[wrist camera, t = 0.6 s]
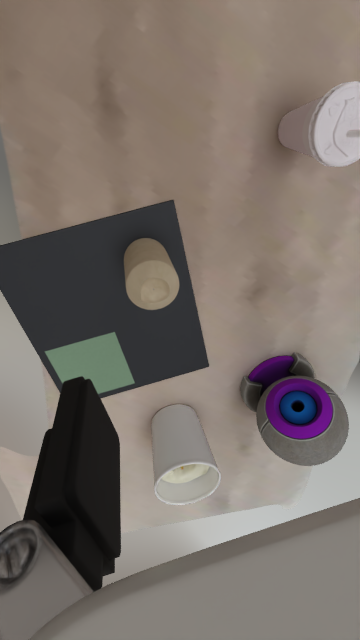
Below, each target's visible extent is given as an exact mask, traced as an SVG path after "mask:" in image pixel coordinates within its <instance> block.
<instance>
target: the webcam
mask: <svg viewBox="0 0 360 640" xmlns="http://www.w3.org/2000/svg"><path fill="white" fill-rule="evenodd" d="M314 378H315V375H314V371H313V368H312V366H311V365H310V363H309V362H308V361H307V360H306V359H305V358H304V357H303V356H301V355H300V354H297V353H293V355H292V356H278V357H274V358H271V359H269V360H266V361H265V362H263V363H261V364H260V365H259V366H257V367H256V368H255V369H254V370H253V371H252V372H251V374H250V375H249V377H244V378H243V380H242V383H241V388H240V391H241V396H242V398H243V400H244V402H245V404H246V405H247V406H248V407H249V408H250V409H251V410H252V411H254V412H256V413H257V414H256V417H257V425H258V429H259V432H260V434H261V436H262V438H263V440H264V442H265V443H266V445H267V446H268V447H269V448H270V449H271V450H272V451H273V452H274V453H275V454H276V455H277V456H279V457H280V458H282V459H284V460H286V461H288V462H290V463H293V464H297V465H303V466H312V465H318V464H322V463H324V462H327V461H328V460H330V459H332V458H333V457H334V456H335V455H337V454H338V453H339V451H340V450H341V449H342V447H343V445H344V444H345V442H346V439H347V436H348V429H349V428H348V427H349V422H348V416H347V412H346V409H345V407H344V405H343V403H342V401H341V399H340V398H339V397H338V395H337V394H336V393H335V392H334V391H333V390H332V389H331V388H330V387H329V386H327V385H326V384H324V383H323V382H321V381H319V380H316V379H314Z"/></svg>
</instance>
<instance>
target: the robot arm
mask: <svg viewBox="0 0 360 640" xmlns="http://www.w3.org/2000/svg"><path fill="white" fill-rule="evenodd" d="M120 552H121V526H120V443H119V437H118V434H117V432H116V430H115V428H114V426H113V424H112V422H111V420H110V418H109V416H108V414H107V411H106V409H105V407H104V405H103V403H102V401H101V399H100V397H99V395H98V393H97V391H96V389H95V387H94V385H93V383H92V381H91V380H90V379H86V380H85V378H84V377H83V376H80V377H77V378H73V379H70V380H66V381H64V382H63V385H62V389H61V394H60V398H59V402H58V407H57V411H56V415H55V419H54V424H53V428H52V429H49V430H47V432H46V433H45V436H44V439H43V443H42V447H41V451H40V455H39V459H38V463H37V467H36V471H35V474H34V478H33V482H32V486H31V490H30V494H29V498H28V502H27V506H26V510H25V514H24V518H23V520H22V521H18V522H16V523H14V524H12V525H10V526H8V527H7V528H5V529H4V530H3V531H2V532H0V640H360V498H358V499H355V500H352V501H349V502H346V503H343V504H340V505H337V506H333V507H330V508H327V509H324V510H321V511H318V512H315V513H312V514H309V515H306V516H303V517H300V518H297V519H294V520H291V521H288V522H285V523H282V524H279V525H275V526H272V527H269V528H267V529H263V530H261V531H258V532H255V533H251V534H248V535H245V536H242V537H239V538H236V539H233V540H230V541H227V542H224V543H221V544H218V545H215V546H212V547H209V548H206V549H203V550H200V551H197V552H194V553H192V554H189V555H186V556H183V557H180V558H178V559H174V560H172V561H169V562H166V563H163V564H160V565H158V566H154V567H152V568H149V569H146V570H143V571H141V572H138V573H136V574H133V575H131V576H128V577H126V578H124V579H121V580H119V581H116V582H114V583H111V584H109V585H107V586H105V587H103V588H101V587H102V578H103V576H105V575H108V574H111V573H114V572H115V566H114V565H115V558H117V557H119V556H120Z"/></svg>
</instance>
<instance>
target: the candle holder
mask: <svg viewBox="0 0 360 640" xmlns="http://www.w3.org/2000/svg"><path fill="white" fill-rule="evenodd" d="M151 434H152V452H153V469H154V492H155V495H156V496H157V498H158V499H159V500H161V501H162V502H164V503H167V504H171V505H186V504H191V503H195V502H197V501H200V500H202V499H204V498H206V497H208V496H209V495H210V494H212V493H213V492H214V491H215V490H216V489H217V487H218V486H219V484H220V481H221V474H220V471H219V469H218V467H217V464H216V462H215V459H214V457H213V454H212V451H211V449H210V446H209V444H208V441H207V438H206V436H205V433H204V430H203V428H202V425H201V423H200V420H199V418H198V415H197V413H196V412H195V410H194V409H192V408H191V407H189V406H187V405H182V404H175V405H170V406H167V407H165V408H163V409H161V410H160V411H158V412H157V413H156V414H155V416H154V417H153V419H152V423H151Z"/></svg>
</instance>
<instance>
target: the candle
mask: <svg viewBox="0 0 360 640" xmlns="http://www.w3.org/2000/svg"><path fill="white" fill-rule="evenodd" d="M124 270H125V282H126V291H127V294H128V297H129V298H130V300H131V301H132V302H133V303H134V304H135V305H137V306H138V307H140V308H143V309H147V310H156V309H161V308H163V307H165V306H167V305H169V304H170V303H171V302H172V301H173V300H174V299H175V297H176V296H177V293H178V291H179V278H178V275H177V273H176V271H175V269H174V267H173V264H172V262H171V260H170V258H169V256H168V254H167V252H166V250H165V248H164V247H163V246H162V245H161V244H160V243H159V242H158V241H156V240H154V239H150V238H141V239H138V240H135V241H134V242H132V243H131V244H130V245H129V246H128V248H127V249H126V251H125V254H124Z"/></svg>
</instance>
